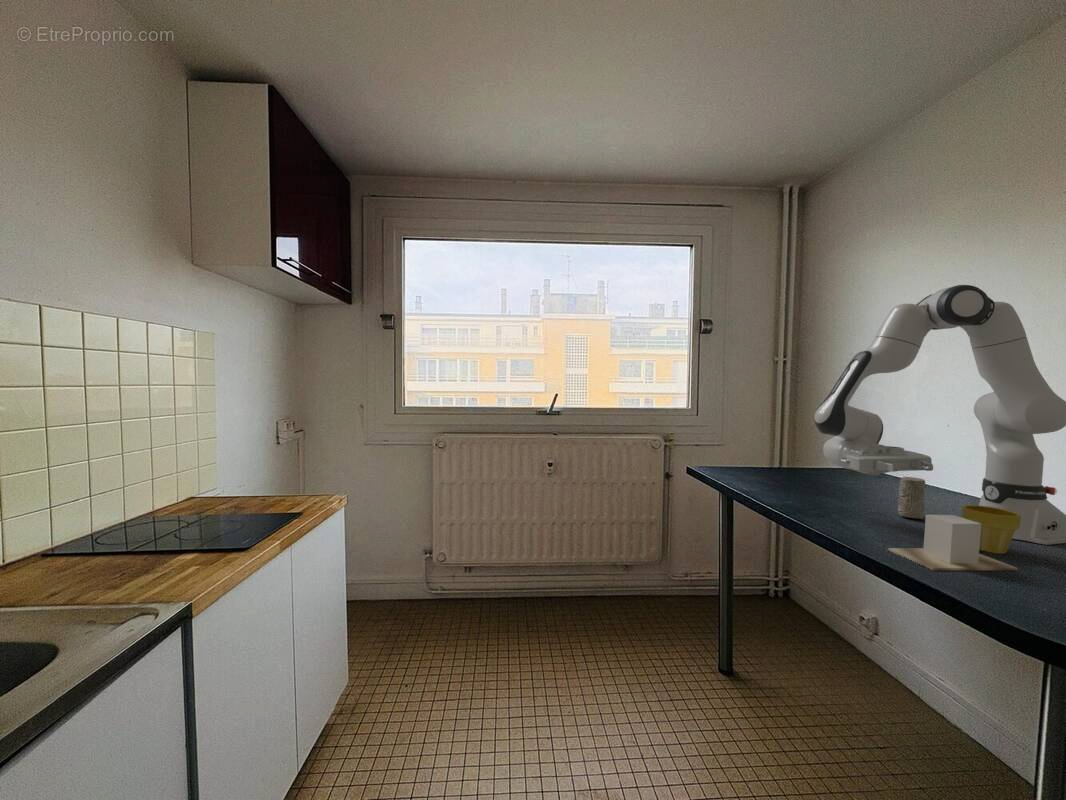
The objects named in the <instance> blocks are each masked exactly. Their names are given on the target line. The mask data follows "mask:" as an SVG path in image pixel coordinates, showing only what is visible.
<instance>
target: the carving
mask: <svg viewBox="0 0 1066 800" xmlns="http://www.w3.org/2000/svg"><path fill="white" fill-rule="evenodd" d="M925 489H926V480H925V479H924V478H919V477H912V476H911V477H910V476H901V478H900V481H899V489H898V492H899V494H898V507H897V511H898V514H899V515H900V516H901V517H903V518H909V519H919V520H922V519H924V516H925V494H926V493H925Z"/></svg>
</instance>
